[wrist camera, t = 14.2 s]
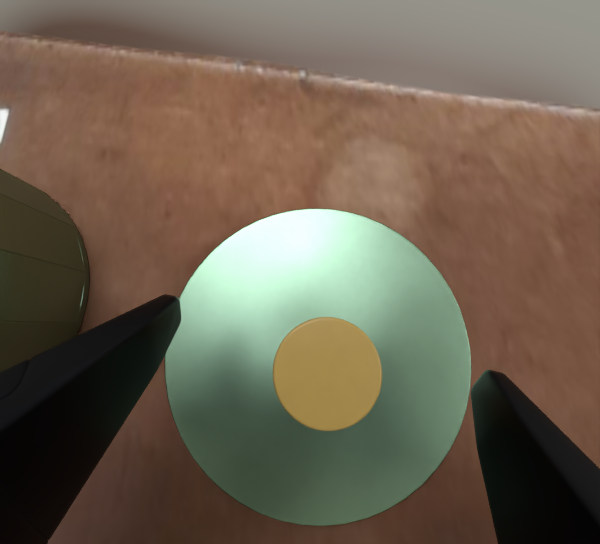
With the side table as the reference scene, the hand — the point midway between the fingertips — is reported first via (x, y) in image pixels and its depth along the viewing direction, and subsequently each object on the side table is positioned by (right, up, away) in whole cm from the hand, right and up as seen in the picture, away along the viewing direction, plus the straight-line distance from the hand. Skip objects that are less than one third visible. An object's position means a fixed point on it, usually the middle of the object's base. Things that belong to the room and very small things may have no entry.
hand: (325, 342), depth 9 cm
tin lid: (0, -2, +5) cm, 5 cm away
